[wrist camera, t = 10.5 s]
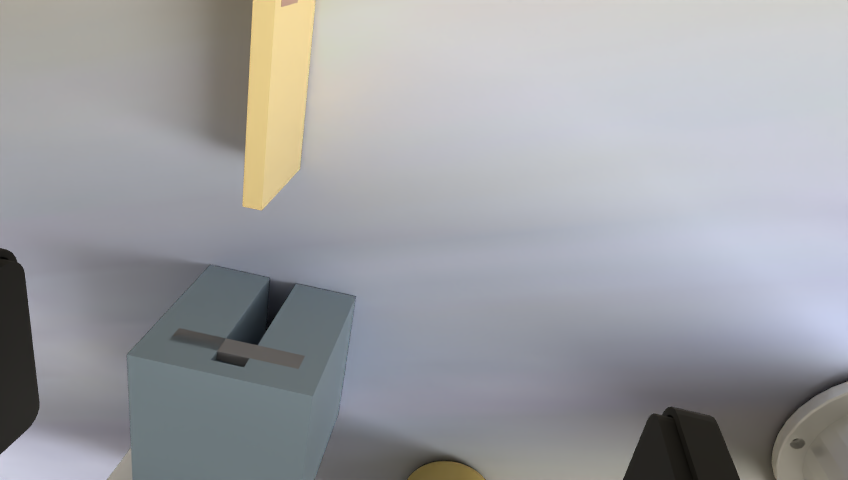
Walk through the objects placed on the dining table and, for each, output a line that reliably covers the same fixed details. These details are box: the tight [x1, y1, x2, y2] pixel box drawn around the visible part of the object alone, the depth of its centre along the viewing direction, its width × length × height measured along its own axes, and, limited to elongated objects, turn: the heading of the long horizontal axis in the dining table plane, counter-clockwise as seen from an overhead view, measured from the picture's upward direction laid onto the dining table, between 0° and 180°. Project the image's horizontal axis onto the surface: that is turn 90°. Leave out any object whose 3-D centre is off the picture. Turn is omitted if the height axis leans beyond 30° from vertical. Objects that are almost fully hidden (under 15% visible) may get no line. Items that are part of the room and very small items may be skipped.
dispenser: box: [127, 265, 356, 480], centre depth 39 cm, size 10×10×10 cm
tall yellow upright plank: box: [243, 0, 315, 210], centre depth 32 cm, size 1×12×6 cm, turn 170°
